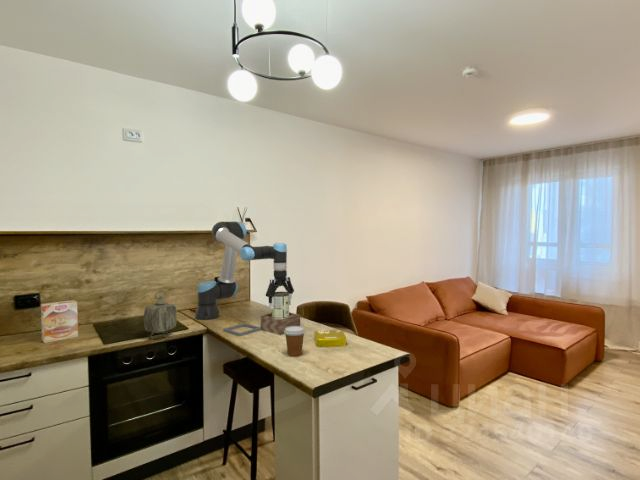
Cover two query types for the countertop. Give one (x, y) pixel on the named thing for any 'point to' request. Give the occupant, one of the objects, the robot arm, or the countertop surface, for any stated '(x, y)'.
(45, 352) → the countertop surface
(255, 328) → the gray square frame
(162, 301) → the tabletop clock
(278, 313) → the coffee can
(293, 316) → the block
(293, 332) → the disposable coffee cup
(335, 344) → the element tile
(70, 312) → the coffeecake box
